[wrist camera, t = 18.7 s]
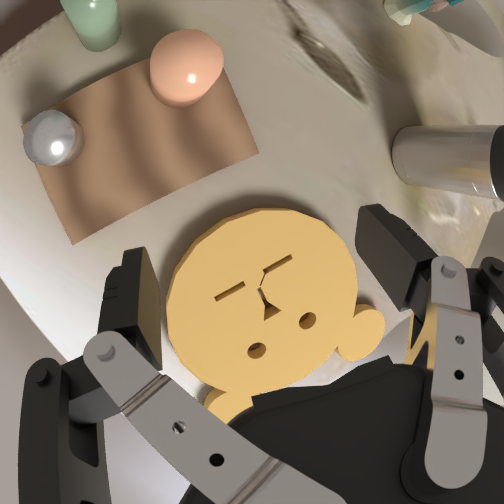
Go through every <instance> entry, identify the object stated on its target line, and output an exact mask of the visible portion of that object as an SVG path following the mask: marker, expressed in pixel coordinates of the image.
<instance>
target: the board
mask: <svg viewBox="0 0 504 504" xmlns="http://www.w3.org/2000/svg"><path fill="white" fill-rule="evenodd" d="M150 58H151V57H150ZM150 58H147V59H145V60H142V61H140V62H137V63H135V64H133V65H130V66H128V67H126V68H124V69H121V70H119V71H117V72H115V73H113V74H111V75H109V76H107V77H105V78H102V79H100V80H98V81H96V82H95V83H93V84H91V85H89V86H87V87H85V88H83V89H81V90H79V91H77V92H76V93H74V94H72V95H70V96H69V97H67V98H65V99H63V100H62V101H60V102H58V103H57V104H55V105H53V106H52V107H50V108H48V109H47V110H57V111H60V112H62V113H63V114H65V115H66V116H68V117H69V118H71V119H72V120H74V121H75V122H77V123H78V124H79V125H80V126H81V128H82V129H83V132H84V136H85V143H84V147H83V150H82V152H81V154H80V155H79V156H78V158H77V159H76V160H74V161H73V162H71V163H69V164H67V165H39V164H36V163H35V165H36V168H37V170H38V172H39V175H40V177H41V180H42V182H43V184H44V187H45V189H46V191H47V193H48V196H49V198H50V200H51V202H52V204H53V206H54V209H55V211H56V213H57V215H58V217H59V219H60V221H61V223H62V225H63V227H64V229H65V231H66V233H67V235H68V237H69V239H70V241H71V243H72V244H73V245H74V244H76V243H78V242H80V241H81V240H83V239H85V238H87V237H88V236H90V235H92V234H94V233H95V232H97V231H99V230H101V229H103V228H104V227H106V226H108V225H110V224H112V223H113V222H115V221H117V220H119V219H121V218H123V217H125V216H126V215H128V214H130V213H132V212H134V211H136V210H138V209H140V208H142V207H144V206H146V205H148V204H150V203H152V202H153V201H155V200H157V199H159V198H161V197H163V196H166V195H168V194H170V193H172V192H174V191H176V190H178V189H180V188H182V187H184V186H186V185H188V184H190V183H192V182H195V181H197V180H199V179H201V178H203V177H205V176H208V175H210V174H212V173H214V172H216V171H219V170H221V169H223V168H225V167H228V166H230V165H232V164H235V163H237V162H239V161H241V160H244V159H246V158H249V157H251V156H253V155H256V154H258V153H259V151H258V149H257V146H256V144H255V141H254V139H253V136H252V134H251V132H250V129H249V127H248V124H247V122H246V119H245V117H244V115H243V112H242V110H241V108H240V105H239V103H238V100H237V98H236V96H235V93H234V91H233V89H232V86H231V84H230V82H229V80H228V77H227V75H226V73H225V70H224V68H222V71H221V73H220V75H219V77H218V78H217V80H216V81H215V82H214V83H213V85H212V86H211V87H210V89H209V90H208V91H207V93H206V94H205V95H204V96H203V98H202V99H201V100H200V101H198V102H197V103H195V104H194V105H192V106H189V107H185V108H172V107H168V106H166V105H164V104H162V103H161V102H159V101H158V100H157V99H156V98H155V96H154V95H153V93H152V90H151V86H150ZM47 110H45V111H47ZM31 120H32V119H31ZM31 120H30V121H31ZM30 121H28V122H27V123H25V124H24V125H22V126H21V127H22V130H23V133H25V130H26V128H27V126H28V124H29V123H30Z"/></svg>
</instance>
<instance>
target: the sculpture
mask: <svg viewBox="0 0 504 504" xmlns="http://www.w3.org/2000/svg"><path fill="white" fill-rule="evenodd" d="M462 1H464V0H385V2H384V5H383V7H384V9H385V11H386V13H387V15H388V17H390V18H391V19H392V20H394V21H395V22H397V23H398V24H399V25H401V26H402V25H407V24H410V21H411V17H412V15H413V14H416V13H419V12H422V11H425V10H429V11H432V12H438V11H440V10H442V9H443V8H444V7H446V6H447V5H448V4H451V5H452V6H453V5H455V4H457V3H460V2H462Z"/></svg>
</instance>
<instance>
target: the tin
mask: <svg viewBox="0 0 504 504" xmlns="http://www.w3.org/2000/svg"><path fill="white" fill-rule="evenodd" d="M84 143H85V136H84V132H83V129H82V128H81V126H80V125H79V124H78V123H77V122H75V121H74V120H72V119H71V118H69V117H68V116H66V115H65V114H63V113H62V112H60V111H57V110H47V111H43V112H41V113H39V114H38V115H36V116H35V117H34V118H33V119H32V120H31V121H30V123H29V124H28V126H27V128H26V130H25V133H24V139H23V145H24V150H25V152H26V155H27V156H28V158H29V159H30V160H31V161H32V162H34V163H36V164H39V165H67V164H69V163H71V162H73V161H74V160H76V159H77V158H78V156H79V155H80V154H81V152H82V150H83V147H84Z"/></svg>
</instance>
